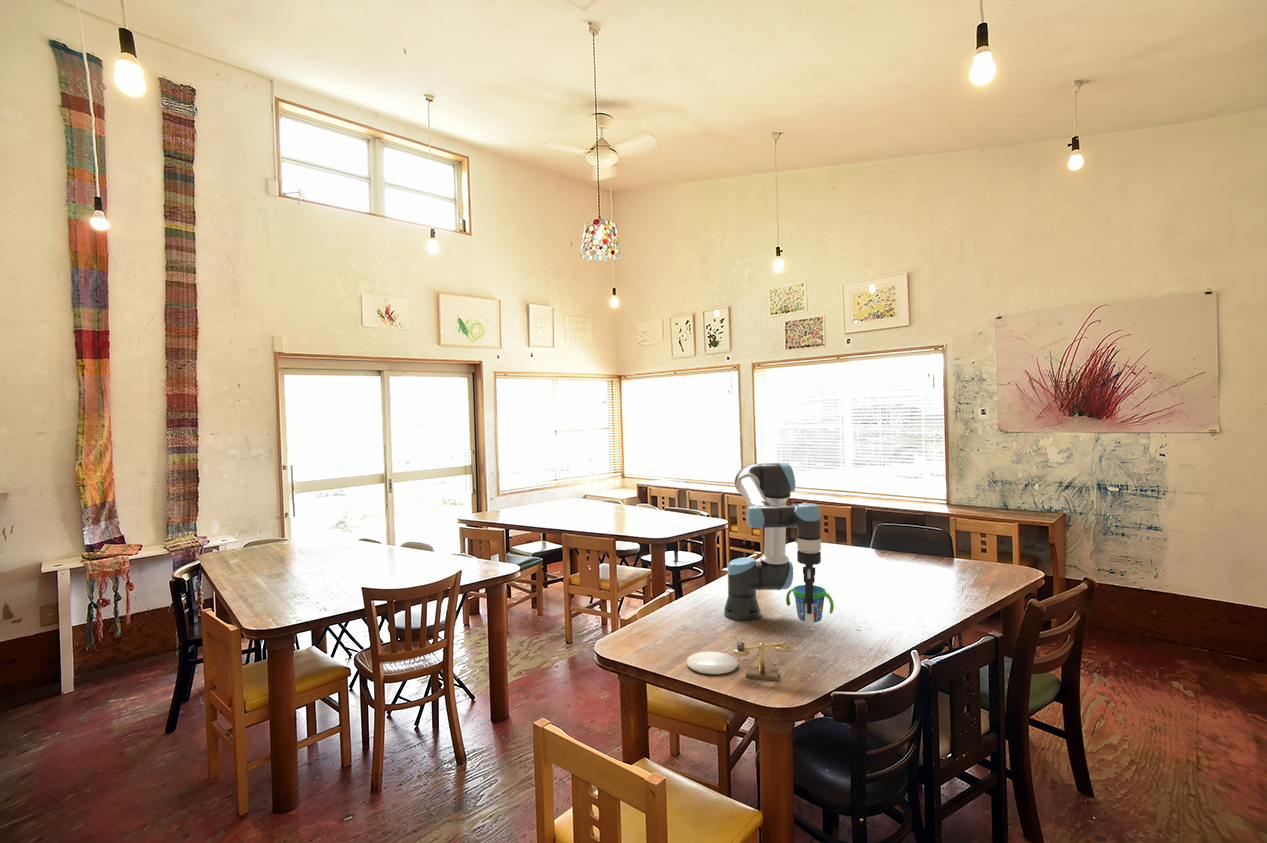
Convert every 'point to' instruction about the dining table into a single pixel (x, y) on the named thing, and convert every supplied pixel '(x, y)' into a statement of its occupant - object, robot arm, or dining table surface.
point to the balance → (761, 659)
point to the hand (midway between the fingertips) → (809, 617)
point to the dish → (712, 662)
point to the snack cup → (818, 599)
